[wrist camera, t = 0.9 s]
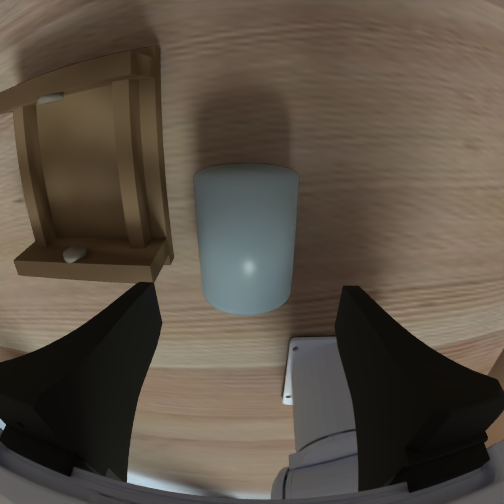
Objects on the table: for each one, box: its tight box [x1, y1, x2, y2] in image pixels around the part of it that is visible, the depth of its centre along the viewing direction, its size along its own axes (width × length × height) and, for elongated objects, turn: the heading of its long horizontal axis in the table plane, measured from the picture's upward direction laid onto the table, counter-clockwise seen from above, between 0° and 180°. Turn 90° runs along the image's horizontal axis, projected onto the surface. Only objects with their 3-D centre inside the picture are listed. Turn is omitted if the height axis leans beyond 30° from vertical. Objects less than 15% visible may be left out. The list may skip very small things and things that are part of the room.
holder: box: [0, 46, 174, 284], centre depth 16 cm, size 14×11×4 cm
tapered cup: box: [194, 163, 299, 315], centre depth 17 cm, size 7×5×5 cm
